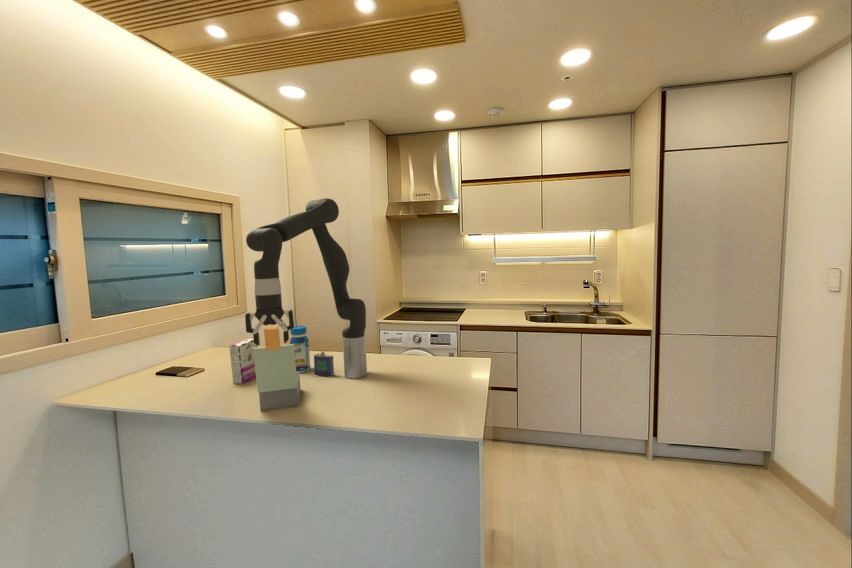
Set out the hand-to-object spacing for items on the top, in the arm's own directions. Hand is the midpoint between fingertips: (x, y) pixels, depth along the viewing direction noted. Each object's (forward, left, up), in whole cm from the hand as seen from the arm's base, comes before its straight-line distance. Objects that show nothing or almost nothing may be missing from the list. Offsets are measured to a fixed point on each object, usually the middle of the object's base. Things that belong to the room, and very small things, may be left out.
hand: (271, 343), depth 114 cm
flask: (-15, -37, -25) cm, 47 cm away
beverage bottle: (-5, -48, -25) cm, 54 cm away
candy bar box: (+17, -44, -25) cm, 53 cm away
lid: (0, -6, -6) cm, 8 cm away
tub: (0, -15, -25) cm, 29 cm away
